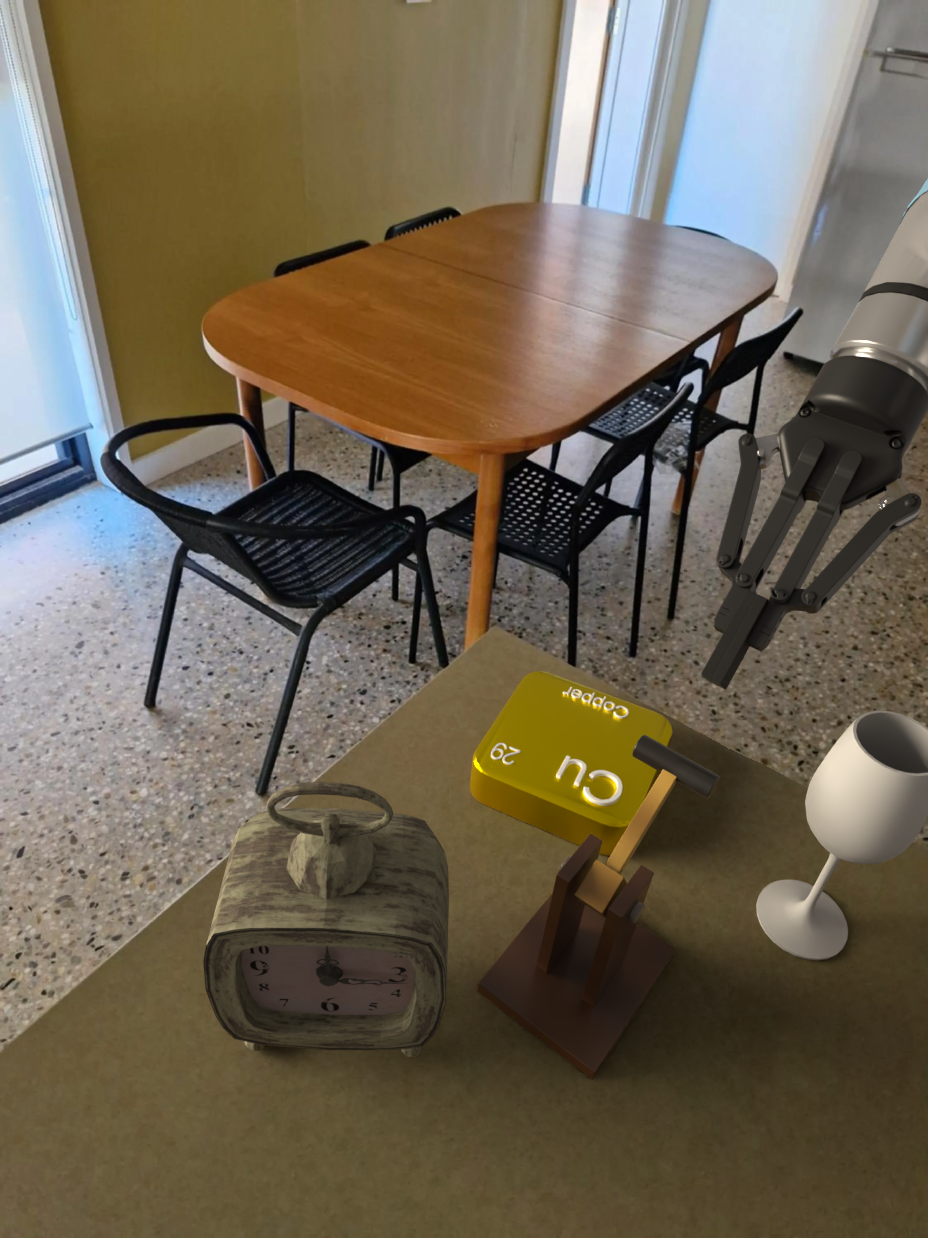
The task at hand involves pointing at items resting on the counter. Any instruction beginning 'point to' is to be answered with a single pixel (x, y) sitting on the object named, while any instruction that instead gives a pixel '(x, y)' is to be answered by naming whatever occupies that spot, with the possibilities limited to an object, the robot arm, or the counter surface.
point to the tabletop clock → (331, 928)
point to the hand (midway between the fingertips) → (713, 681)
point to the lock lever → (643, 819)
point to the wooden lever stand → (579, 966)
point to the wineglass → (852, 825)
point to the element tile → (567, 759)
